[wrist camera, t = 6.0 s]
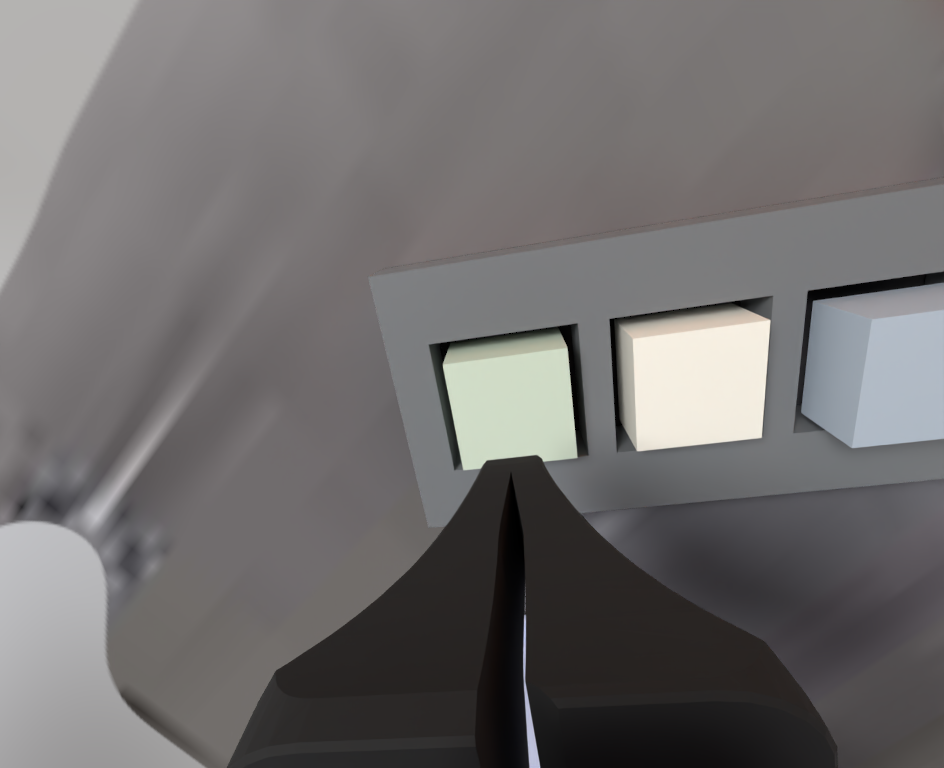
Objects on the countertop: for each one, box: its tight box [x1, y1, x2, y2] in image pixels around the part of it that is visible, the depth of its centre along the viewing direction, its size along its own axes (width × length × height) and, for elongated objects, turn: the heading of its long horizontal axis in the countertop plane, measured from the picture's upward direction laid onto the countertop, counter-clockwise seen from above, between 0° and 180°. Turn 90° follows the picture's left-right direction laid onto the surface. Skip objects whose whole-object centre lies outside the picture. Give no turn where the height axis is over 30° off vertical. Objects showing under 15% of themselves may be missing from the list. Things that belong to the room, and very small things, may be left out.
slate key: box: [801, 283, 944, 448], centre depth 14 cm, size 4×4×2 cm
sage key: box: [443, 328, 577, 470], centre depth 16 cm, size 4×4×2 cm
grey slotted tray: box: [368, 177, 944, 528], centre depth 16 cm, size 10×26×2 cm, turn 99°
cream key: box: [614, 303, 770, 451], centre depth 16 cm, size 4×4×2 cm
